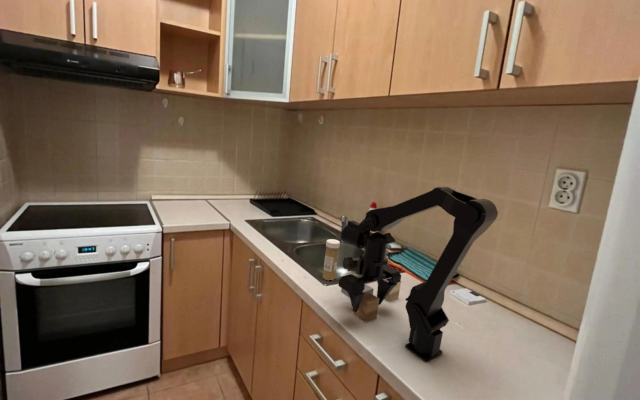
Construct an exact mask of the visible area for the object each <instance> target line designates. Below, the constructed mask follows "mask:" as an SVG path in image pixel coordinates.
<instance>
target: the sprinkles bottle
mask: <svg viewBox="0 0 640 400" xmlns="http://www.w3.org/2000/svg"><path fill="white" fill-rule="evenodd" d="M340 244H341V242H340V240H338V239H334V238H331V239H327V240H326V241H325V254H324V261H323V262H324V263H323V274H322V279H323V280H325V281H329V280H332V281H335V280H336V278H337V277H336V275H337V269H338V268H337V266H338V259H339V258H338V256H339V250H340ZM334 279H335V280H334Z"/></svg>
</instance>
